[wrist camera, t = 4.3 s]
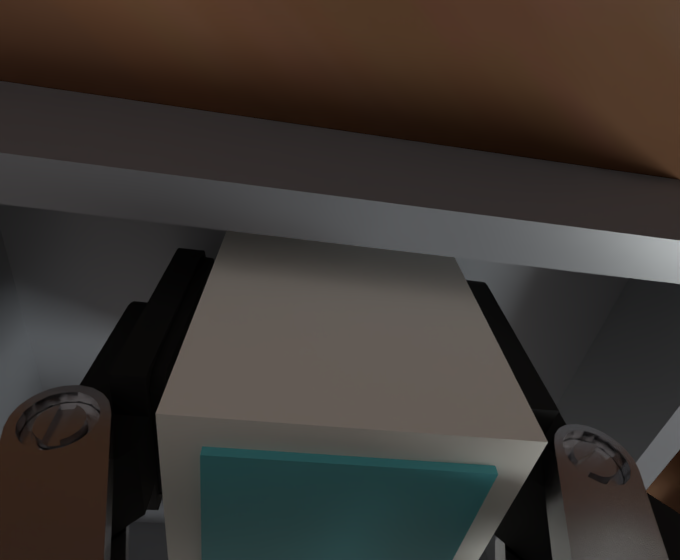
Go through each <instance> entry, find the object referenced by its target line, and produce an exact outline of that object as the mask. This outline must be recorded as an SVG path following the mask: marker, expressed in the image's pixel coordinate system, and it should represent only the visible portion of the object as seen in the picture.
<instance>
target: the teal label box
mask: <svg viewBox="0 0 680 560" xmlns="http://www.w3.org/2000/svg"><path fill="white" fill-rule="evenodd" d="M155 415H156V426H157V438H158V449H159V460H160V472H161V483H162V495H163V506H164V517H165V529H166V540H167V552H168V560H479V558H480V556H481V555H482V553H483V551H484V550H485V548H486V546H487V545H488V543H489V541H490V540H491V538H492V536H493V534H494V533H495V531H496V529H497V528H498V526H499V524H500V523H501V521H502V519H503V518H504V516H505V514H506V512H507V511H508V509H509V507H510V506H511V504H512V502H513V501H514V499H515V497H516V496H517V494H518V492H519V490H520V489H521V487H522V485H523V484H524V482H525V480H526V479H527V477H528V475H529V474H530V472H531V470H532V468H533V467H534V465H535V463H536V462H537V460H538V458H539V457H540V455H541V453H542V452H543V450H544V448H545V446H546V445H547V443H548V441H547V439H546V437H545V435H544V433H543V431H542V429H541V427H540V425H539V423H538V422H537V420H536V418H535V416H534V414H533V412H532V410H531V408H530V406H529V404H528V402H527V400H526V398H525V396H524V394H523V392H522V390H521V388H520V386H519V384H518V382H517V380H516V378H515V376H514V374H513V372H512V370H511V368H510V366H509V364H508V362H507V360H506V358H505V356H504V354H503V352H502V350H501V348H500V346H499V344H498V342H497V340H496V339H495V337H494V335H493V333H492V331H491V329H490V327H489V325H488V323H487V321H486V319H485V317H484V315H483V313H482V311H481V309H480V307H479V305H478V303H477V301H476V299H475V297H474V295H473V293H472V291H471V289H470V287H469V285H468V283H467V281H466V279H465V277H464V275H463V273H462V271H461V269H460V267H459V265H458V263H457V261H456V259H455V257H446V256H438V255H430V254H421V253H413V252H404V251H396V250H387V249H379V248H370V247H362V246H353V245H345V244H336V243H328V242H319V241H311V240H302V239H294V238H285V237H277V236H268V235H260V234H251V233H243V232H234V231H226V234H225V236H224V239H223V242H222V244H221V247H220V249H219V252H218V254H217V257H216V259H215V262H214V265H213V267H212V270H211V272H210V275H209V277H208V280H207V283H206V285H205V288H204V290H203V293H202V295H201V298H200V301H199V303H198V306H197V308H196V311H195V313H194V316H193V319H192V321H191V324H190V326H189V329H188V331H187V334H186V336H185V339H184V342H183V344H182V347H181V349H180V352H179V354H178V357H177V360H176V362H175V365H174V367H173V370H172V372H171V375H170V378H169V380H168V383H167V385H166V388H165V390H164V393H163V396H162V398H161V401H160V403H159V406H158V408H157V411H156V413H155Z"/></svg>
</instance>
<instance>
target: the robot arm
mask: <svg viewBox="0 0 680 560" xmlns="http://www.w3.org/2000/svg"><path fill="white" fill-rule="evenodd" d="M213 265H214V259H213V258H209V257H206V255H205V251H204V250H195V249H186V248H178V249H177V250H176V252H175V254H174V256H173V258H172V259H171V261H170V263H169V265H168V267H167V268H166V270H165V272H164V274H163V276H162V277H161V279H160V281H159V283H158V285H157V286H156V288H155V290H154V292H153V294H152V295H151V297H150V299H149V301H148V302H138V301H133V302H131V303H130V304H129V305H128V306H127V308H126V310H125V311H124V313H123V315H122V316H121V318H120V319H119V321H118V323H117V324H116V326H115V328H114V329H113V331H112V333H111V334H110V336H109V337H108V339H107V341H106V342H105V344H104V346H103V347H102V349H101V351H100V352H99V354H98V355H97V357H96V359H95V360H94V362H93V364H92V365H91V367H90V369H89V370H88V372H87V373H86V375H85V377H84V378H83V380H82V382H81V383H80V385H68V386H61V387H56V388H52V389H48V390H46V391H43V392H41V393H39V394H36V395H34V396H32V397H31V398H29V399H28V400H26V401H25V402H23V403H22V404H20V405H19V406H18V407H17V408H16V409H15V410H14V411H13V412H12V413H11V414H10V415H9V417H8V419H7V421H6V423H5V425H4V427H3V431H2V434H1V438H0V560H129V525H130V524H131V523H133V522H134V521H136V520H137V519H139V518H140V517H142V516H143V515H145V513H146V510H159V507H160V503H161V500H162V497H163V495H162V483H161V472H160V460H159V449H158V438H157V426H156V415H155V413H156V411H157V408H158V406H159V403H160V401H161V398H162V396H163V393H164V390H165V388H166V385H167V383H168V380H169V378H170V375H171V372H172V370H173V367H174V365H175V362H176V360H177V357H178V354H179V352H180V349H181V347H182V344H183V342H184V339H185V336H186V334H187V331H188V329H189V326H190V324H191V321H192V319H193V316H194V313H195V311H196V308H197V306H198V303H199V301H200V298H201V295H202V293H203V290H204V288H205V285H206V283H207V280H208V277H209V275H210V272H211V270H212V267H213ZM466 281H467V283H468V285H469V287H470V289H471V291H472V293H473V295H474V297H475V299H476V301H477V303H478V305H479V307H480V309H481V311H482V313H483V315H484V317H485V319H486V321H487V323H488V325H489V327H490V329H491V331H492V333H493V335H494V337H495V339H496V340H497V342H498V344H499V346H500V348H501V350H502V352H503V354H504V356H505V358H506V360H507V362H508V364H509V366H510V368H511V370H512V372H513V374H514V376H515V378H516V380H517V382H518V384H519V386H520V388H521V390H522V392H523V394H524V396H525V398H526V400H527V402H528V404H529V406H530V408H531V410H532V412H533V414H534V416H535V418H536V420H537V422H538V423H539V425H540V427H541V429H542V431H543V433H544V435H545V437H546V439H547V441H548V443H547V445H546V446H545V448H544V450H543V452H542V453H541V455H540V457H539V458H538V460H537V462H536V463H535V465H534V467H533V468H532V470H531V472H530V474H529V475H528V477H527V479H526V480H525V482H524V484H523V485H522V487H521V489H520V490H519V492H518V494H517V496H516V497H515V499H514V501H513V502H512V504H511V506H510V507H509V509H508V511H507V512H506V514H505V516H504V518H503V519H502V521H501V523H500V524H499V526H498V528H497V529H496V531H495V533H494V535H495V536H496V539H495V560H680V514H679V513H677V512H676V511H674V510H673V509H671V508H670V507H668V506H667V505H665V504H663V503H662V502H660V501H659V500H657V499H656V498H654V497H653V496H651V495H649V494H648V493H647V492H646V489H645V486H644V483H643V480H642V477H641V474H640V471H639V469H638V467H637V465H636V463H635V461H634V459H633V458H632V457H631V455H630V454H629V453H628V452H627V450H626V449H625V448H624V447H623V446H621V445H620V444H619V443H618V442H617V441H615V440H614V439H613V438H611V437H610V436H608V435H606V434H605V433H603V432H602V431H599V430H597V429H594V428H592V427H589V426H585V425H580V424H567V425H566V423H565V421H564V419H563V418H562V416H561V414H560V412H559V409H558V408H557V406H556V404H555V402H554V401H553V399H552V397H551V395H550V394H549V392H548V390H547V388H546V387H545V385H544V383H543V381H542V380H541V378H540V376H539V374H538V373H537V371H536V369H535V367H534V366H533V364H532V362H531V360H530V359H529V357H528V355H527V353H526V352H525V350H524V348H523V346H522V345H521V343H520V341H519V339H518V338H517V336H516V334H515V332H514V331H513V329H512V327H511V325H510V324H509V322H508V320H507V319H506V317H505V315H504V313H503V312H502V310H501V308H500V306H499V305H498V303H497V301H496V299H495V298H494V296H493V294H492V292H491V291H490V289H489V287H488V285H487V284H486V283H485V282H480V281H471V280H466Z"/></svg>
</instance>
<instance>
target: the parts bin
mask: <svg viewBox="0 0 680 560" xmlns="http://www.w3.org/2000/svg"><path fill="white" fill-rule="evenodd" d="M226 231H234V232H243V233H251V234H260V235H268V236H277V237H285V238H294V239H302V240H311V241H319V242H328V243H336V244H345V245H353V246H362V247H370V248H379V249H387V250H396V251H404V252H413V253H421V254H430V255H438V256H446V257H455V259H456V261H457V263H458V265H459V267H460V269H461V271H462V273H463V275H464V277H465V279H466V280H471V281H480V282H485V283H486V284H487V285H488V287H489V289H490V291H491V292H492V294H493V296H494V298H495V299H496V301H497V303H498V305H499V306H500V308H501V310H502V312H503V313H504V315H505V317H506V319H507V320H508V322H509V324H510V325H511V327H512V329H513V331H514V332H515V334H516V336H517V338H518V339H519V341H520V343H521V345H522V346H523V348H524V350H525V352H526V353H527V355H528V357H529V359H530V360H531V362H532V364H533V366H534V367H535V369H536V371H537V373H538V374H539V376H540V378H541V380H542V381H543V383H544V385H545V387H546V388H547V390H548V392H549V394H550V395H551V397H552V399H553V401H554V402H555V404H556V406H557V408H558V409H559V412H560V414H561V416H562V418H563V419H564V421H565V423H566V425H567V424H580V425H585V426H589V427H592V428H594V429H597V430H599V431H602V432H603V433H605V434H606V435H608V436H610V437H611V438H613V439H614V440H615V441H617V442H618V443H619V444H620V445H621V446H623V447H624V448H625V449H626V450H627V452H628V453H629V454H630V455H631V457H632V458H633V459H634V461H635V463H636V465H637V467H638V469H639V471H640V474H641V477H642V480H643V483H644V486H645V489H647V488H648V487H649V486H650V485H651V483H652V482H653V481H654V480H655V479H656V477H657V476H658V475H659V474H660V473H661V471H662V470H663V469H664V468H665V467H666V465H667V464H668V463H669V462H670V461H671V459H672V458H673V457H674V456H675V455H676V453H677V452H678V451H679V450H680V180H677V179H671V178H664V177H657V176H650V175H643V174H636V173H629V172H622V171H616V170H609V169H602V168H595V167H588V166H581V165H574V164H567V163H561V162H554V161H547V160H540V159H533V158H526V157H519V156H512V155H506V154H499V153H492V152H485V151H478V150H471V149H464V148H458V147H451V146H444V145H437V144H430V143H423V142H416V141H409V140H403V139H396V138H389V137H382V136H375V135H368V134H361V133H354V132H348V131H341V130H334V129H327V128H320V127H313V126H306V125H299V124H293V123H286V122H279V121H272V120H265V119H258V118H251V117H245V116H238V115H231V114H224V113H217V112H210V111H203V110H196V109H190V108H183V107H176V106H169V105H162V104H155V103H148V102H141V101H135V100H128V99H121V98H114V97H107V96H100V95H93V94H87V93H80V92H73V91H66V90H59V89H52V88H45V87H38V86H32V85H25V84H18V83H11V82H4V81H0V438H1V434H2V431H3V427H4V425H5V423H6V421H7V419H8V417H9V415H10V414H11V413H12V412H13V411H14V410H15V409H16V408H17V407H18V406H19V405H20V404H22V403H23V402H25V401H26V400H28V399H29V398H31V397H32V396H34V395H36V394H39V393H41V392H43V391H46V390H48V389H52V388H56V387H61V386H68V385H80V383H81V382H82V380H83V378H84V377H85V375H86V373H87V372H88V370H89V369H90V367H91V365H92V364H93V362H94V360H95V359H96V357H97V355H98V354H99V352H100V351H101V349H102V347H103V346H104V344H105V342H106V341H107V339H108V337H109V336H110V334H111V333H112V331H113V329H114V328H115V326H116V324H117V323H118V321H119V319H120V318H121V316H122V315H123V313H124V311H125V310H126V308H127V306H128V305H129V304H130V303H131V302H133V301H138V302H148V301H149V299H150V297H151V295H152V294H153V292H154V290H155V288H156V286H157V285H158V283H159V281H160V279H161V277H162V276H163V274H164V272H165V270H166V268H167V267H168V265H169V263H170V261H171V259H172V258H173V256H174V254H175V252H176V250H177V249H178V248H186V249H195V250H204V251H205V255H206V257H209V258H213V259H214V262H215V259H216V257H217V254H218V252H219V249H220V247H221V244H222V242H223V239H224V236H225V234H226ZM495 539H496V536H495V535H494V534H493V536H492V538H491V540H490V541H489V543H488V545H487V546H486V548H485V550H484V551H483V553H482V555H481V556H480V558H479V560H495ZM129 560H168V552H167V540H166V529H165V517H164V506H163V497H162V500H161V503H160V507H159V510H146V513H145V515H143V516H142V517H140V518H139V519H137V520H136V521H134V522H133V523H131V524H130V525H129Z"/></svg>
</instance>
